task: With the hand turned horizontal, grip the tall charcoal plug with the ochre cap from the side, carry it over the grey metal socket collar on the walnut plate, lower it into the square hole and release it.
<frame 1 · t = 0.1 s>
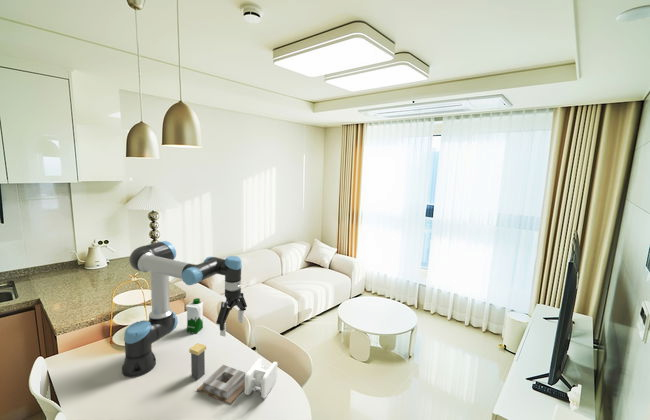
hand: (232, 328, 146), 28 cm above the table, tool pointing down, fingers open, 13 cm apart
plug: (198, 375, 151), on the table
cable organizer: (261, 389, 145), on the table
socket: (224, 386, 145), on the table
milk carton: (194, 330, 191), on the table
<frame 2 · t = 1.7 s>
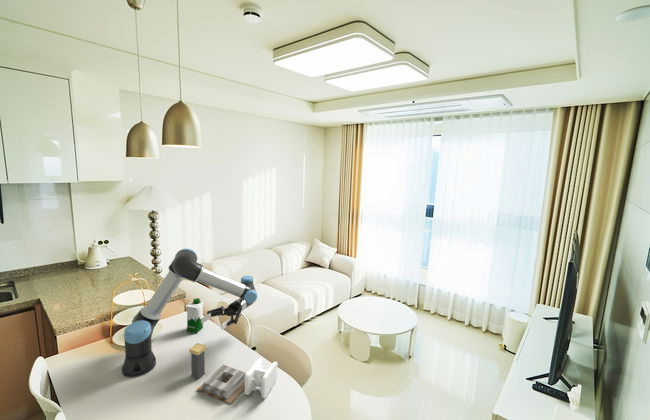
hand: (211, 324, 156), 24 cm above the table, tool horizontal, fingers open, 13 cm apart
nothing on the table moved.
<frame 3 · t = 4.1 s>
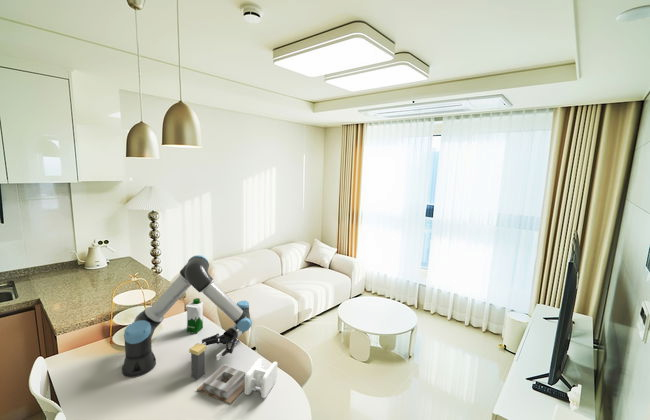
hand: (206, 354, 154), 9 cm above the table, tool horizontal, fingers open, 13 cm apart
nothing on the table moved.
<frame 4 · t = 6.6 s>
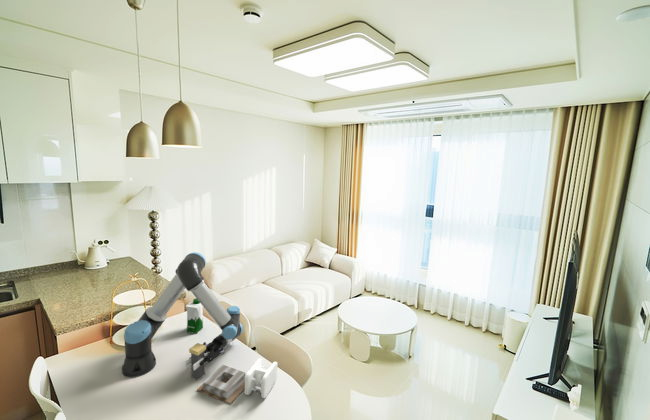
hand: (189, 366, 145), 9 cm above the table, tool horizontal, fingers closed on plug, 4 cm apart
plug: (198, 375, 151), on the table, touching gripper
everything else where it was.
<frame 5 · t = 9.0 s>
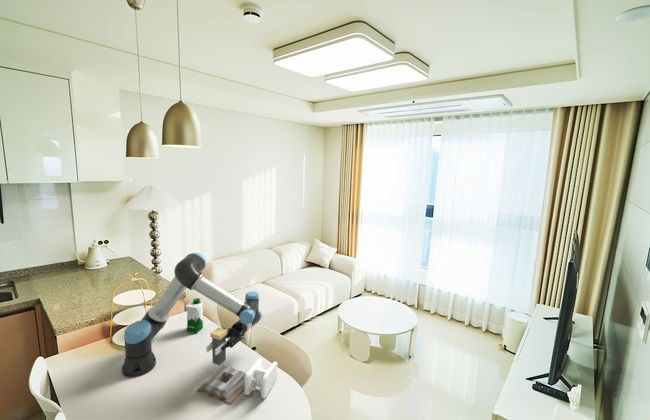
hand: (211, 351, 139), 21 cm above the table, tool horizontal, fingers closed on plug, 4 cm apart
plug: (219, 361, 145), point 12 cm above the table, touching gripper
everything else where it was.
when the fingers open (11 cm above the table, at t = 11.9 s): plug stays where it is, resting on socket.
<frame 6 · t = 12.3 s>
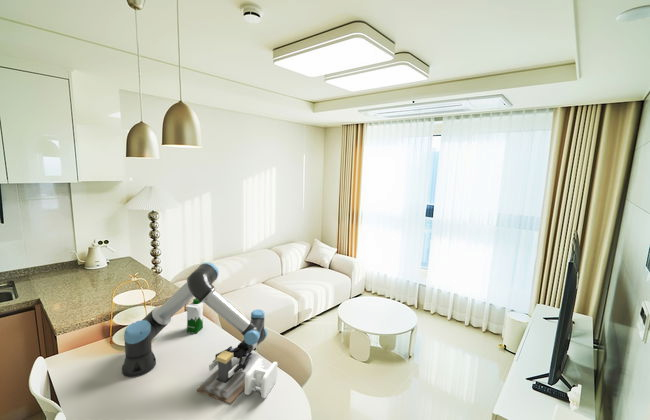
hand: (219, 371, 140), 11 cm above the table, tool horizontal, fingers open, 10 cm apart
plug: (224, 384, 145), point 1 cm above the table, touching socket
everything else where it was.
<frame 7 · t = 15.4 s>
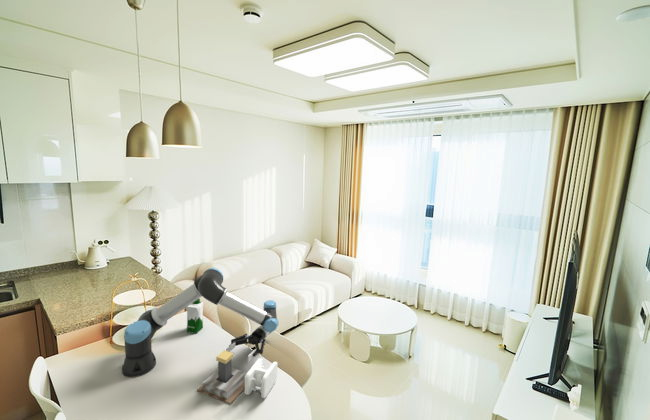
hand: (237, 354, 152), 11 cm above the table, tool horizontal, fingers open, 13 cm apart
nothing on the table moved.
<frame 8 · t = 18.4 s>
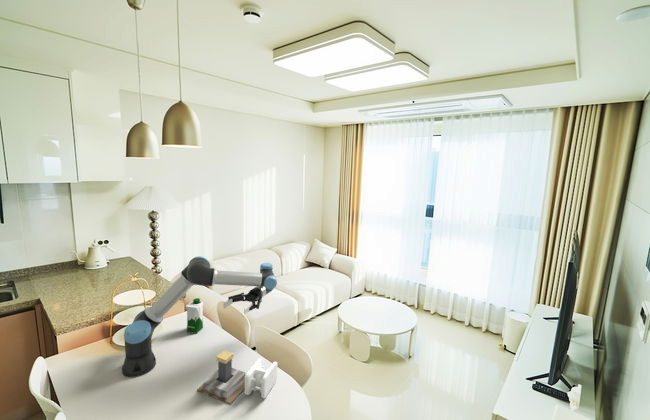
hand: (234, 308, 157), 32 cm above the table, tool horizontal, fingers open, 13 cm apart
nothing on the table moved.
at the end: plug 0.0 cm off-centre on the socket, point 0.8 cm above the socket's base; plug tilted 0°; the gripper is holding nothing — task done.
